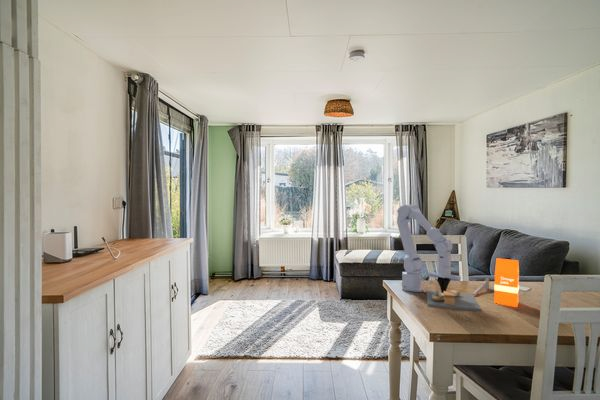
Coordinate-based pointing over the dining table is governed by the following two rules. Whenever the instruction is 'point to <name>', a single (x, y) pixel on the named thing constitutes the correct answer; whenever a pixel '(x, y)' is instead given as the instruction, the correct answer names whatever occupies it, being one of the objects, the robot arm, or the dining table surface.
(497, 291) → the orange juice
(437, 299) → the link
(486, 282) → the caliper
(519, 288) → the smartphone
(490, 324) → the dining table surface
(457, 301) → the keeper board
